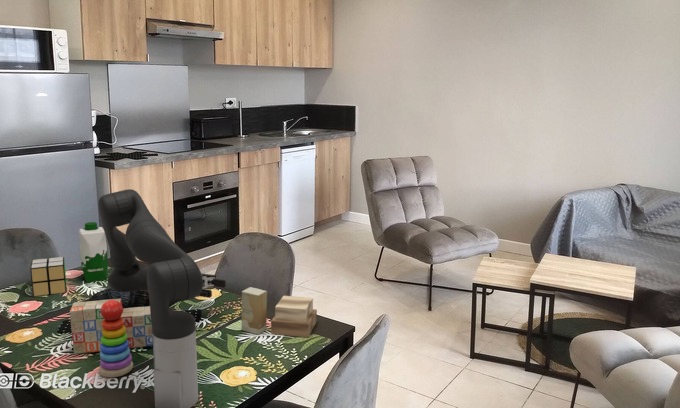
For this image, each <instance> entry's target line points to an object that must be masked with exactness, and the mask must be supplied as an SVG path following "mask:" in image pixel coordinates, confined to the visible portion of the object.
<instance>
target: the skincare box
mask: <svg viewBox="0 0 680 408" xmlns="http://www.w3.org/2000/svg"><path fill="white" fill-rule="evenodd" d="M267 306H268V291H267V290H263V289H260V288H256V287H251V286H250V287H247V288H245V289H244V290H242V291H241V330H242V331H244V332H247V333H250V334H253V335H254V334H255V335H260V334H262V333H263V332H265V331H266V330H267V321H268V320H267V317H268V314H267V313H268V308H267Z"/></svg>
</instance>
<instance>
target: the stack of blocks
mask: <svg viewBox="0 0 680 408" xmlns="http://www.w3.org/2000/svg"><path fill="white" fill-rule="evenodd" d="M109 300H116V301H118V302H120V303H121V304H122V305H123V302H122V298H112V299H111V298H110V299H101V300H92V301H89V300H88V301H76V302H73V303H72V306H71V308H70V310H69V316H70V327H71V328H70V329H71V331H70V332H71V338H72V345H73V346H72V347H73V354H84V353H87V354H88V353H95V352H100V351H101V349H100V345H101V343H102V342H101V337H102V336H103V335H102V329H103V327H102V322H103V320H104V318H103V317H102V315H101V307H102V305H103V304H104V303H105V302H107V301H109ZM121 318H122V319H123V320H124V324H123V325H124V326H125V327H126V332H125V333H126V334H127V340H128V343H129V344H128V347H129V349H130V348H141V347H142V348H143V347H150V346H152V347H153V335H152V323H151V314H150V305H148V306H137V307H135V306H134V307H126V308H125V307H123V313H122V315H121Z"/></svg>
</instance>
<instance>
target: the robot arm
mask: <svg viewBox="0 0 680 408" xmlns="http://www.w3.org/2000/svg"><path fill="white" fill-rule="evenodd" d="M97 204H98V205H97V206H98V213H99V216H100V220H101V221H100V222H101V224H102V228H103V229H104V232H105V235H106V242H107V244H108V249H109V259H110V263H111V266H112V268H114V269H112V271H111V273H110V274H109V275H108V276H107V285H108V287H110V288H111V289H112V290H113V291H116V292H119V293H129V292H136V291H143V290H145V291H148V292H147V293H148V301H149V306H150V314H151V323H152V335H153V345H152V349H153V350H152V353H153V354H152V355H153V369H154V370H153V372H152V373H153V375H152V376H153V389H154V390H153V391H154V392H153V393H154V407H155V408H193V407H194V406H195V405H196V404H197V403H198V401H199V386H198V385H199V384H198V359H197V358H198V356H197V354H198V353H197V329H196V326H197V325H196V319H195V316H194V315H193V314H192V313H190V312H187V311H183V310H179V309H178V310H177V309H173V308H170V304H175V303H180V302H184V301H185V302H186V301H190V300H194V299H195V298H199V297H203V298H209V299H210V298H212V296H213V291H212V290H211V289H208V287H218V288H226V287H227V281H226V280H225V279H220V278H217V275H216V274H210V273H203V272H201V270H200V268H199V266H198V264H197V262H195V260H194V259H193V258H192V257H191V256H190V255H189V254H188V253H187V252H186V251H184V250H183V249H181V248H180V246H178V244H176V242H175V241H174V240H173V239H172V238H171V237H170V236H169V233H167V231H166V230H165V229H164V227H163V226H162V225H161V223H160V222H158V220H157V219H156V218H155V217H154V215H152V213H151V212H150V210H149V208H148V207H147V205H146V203H145V202H144V200H143V197H141V195H140V194H139V193H138V191H136V190H135V189H131V188H130V189H129V188H128V189H123V190H120V191H116V192H115V191H114V192H111V193H107V194H103V195H102V196H100V197H99V198H98V203H97ZM122 226H127V227H126V231H125V233H124V232H122V231H121V230H119V227H122ZM117 227H118V228H117ZM138 260H139V261H140V262H141V263H144V264H146V265H149V266H144V267H142V268H141V265H140V262H139V261H138Z"/></svg>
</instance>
